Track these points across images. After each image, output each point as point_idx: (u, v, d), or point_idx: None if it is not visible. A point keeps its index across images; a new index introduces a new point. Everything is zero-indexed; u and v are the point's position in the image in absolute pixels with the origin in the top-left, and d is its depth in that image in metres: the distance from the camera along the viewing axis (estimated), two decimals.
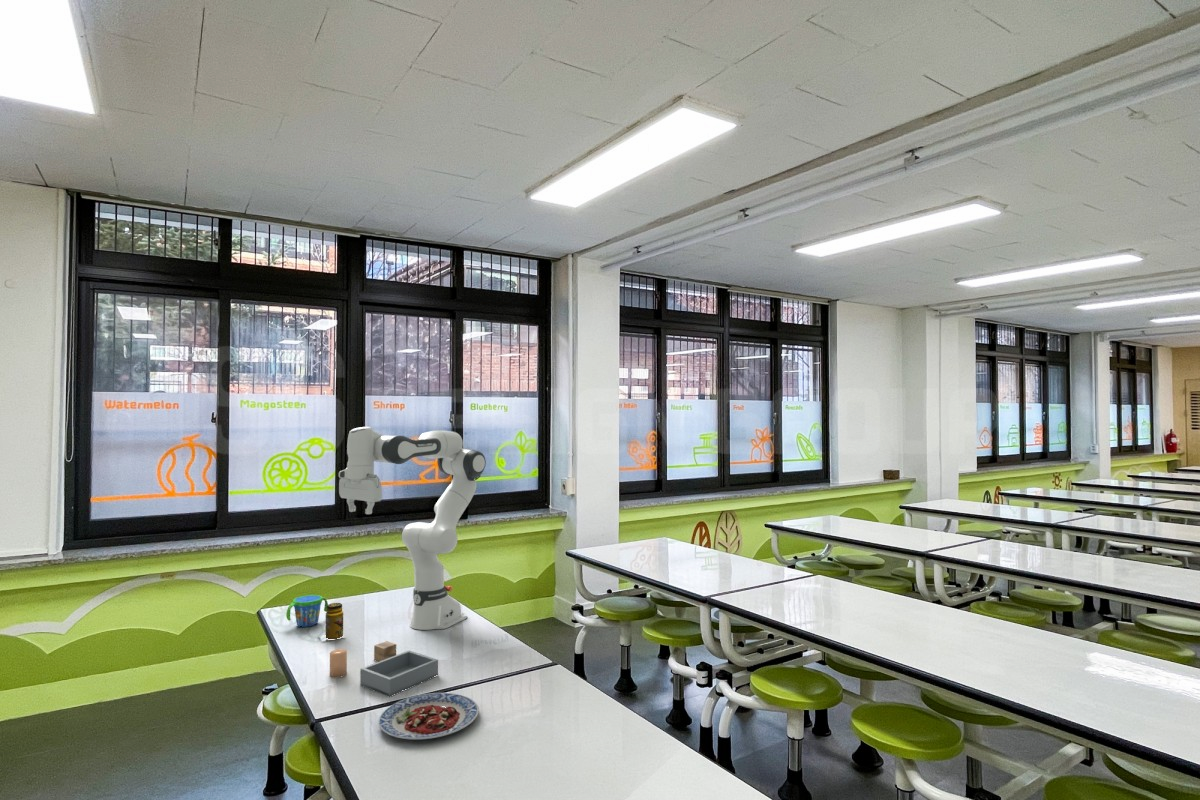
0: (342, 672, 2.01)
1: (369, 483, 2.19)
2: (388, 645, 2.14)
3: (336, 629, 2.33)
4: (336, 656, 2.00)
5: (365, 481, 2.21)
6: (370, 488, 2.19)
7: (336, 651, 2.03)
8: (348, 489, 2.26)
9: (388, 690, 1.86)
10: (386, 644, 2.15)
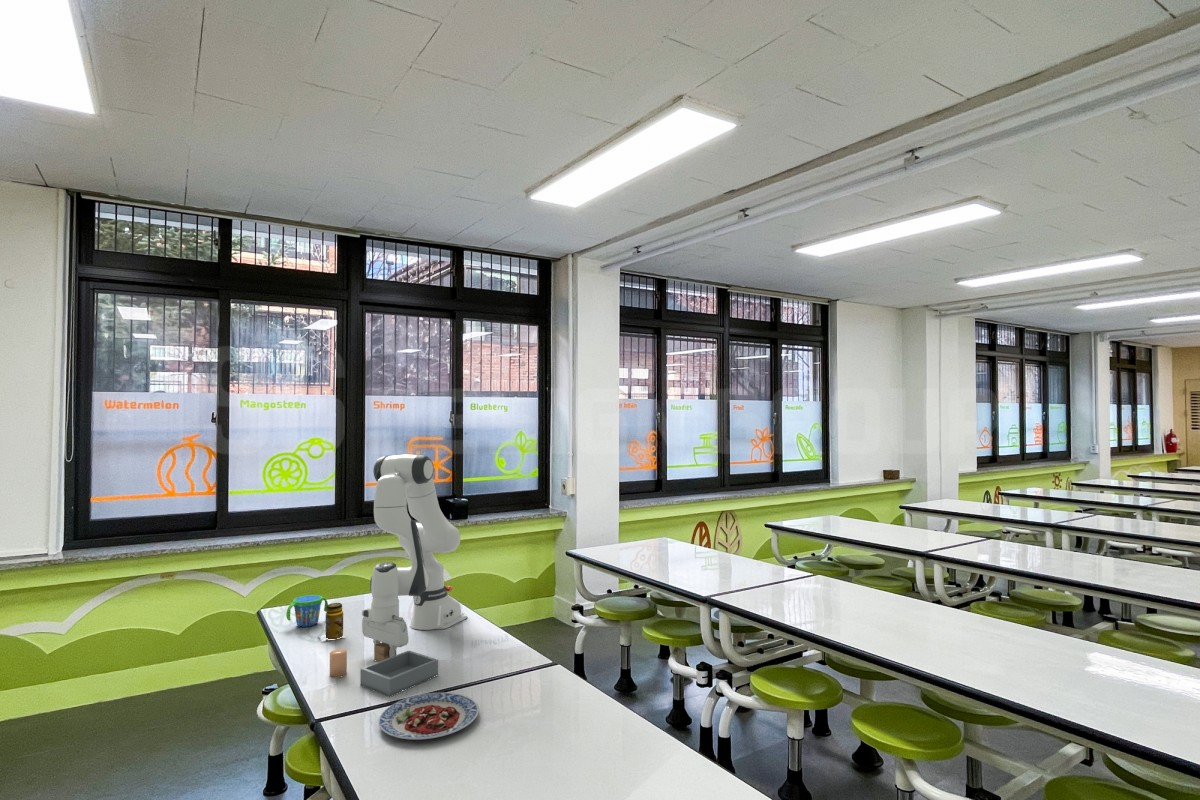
0: (342, 672, 2.01)
1: (395, 627, 2.08)
2: (388, 645, 2.14)
3: (336, 629, 2.33)
4: (336, 656, 2.00)
5: (390, 624, 2.10)
6: (396, 632, 2.08)
7: (336, 651, 2.03)
8: (372, 629, 2.15)
9: (388, 690, 1.86)
10: (386, 644, 2.15)
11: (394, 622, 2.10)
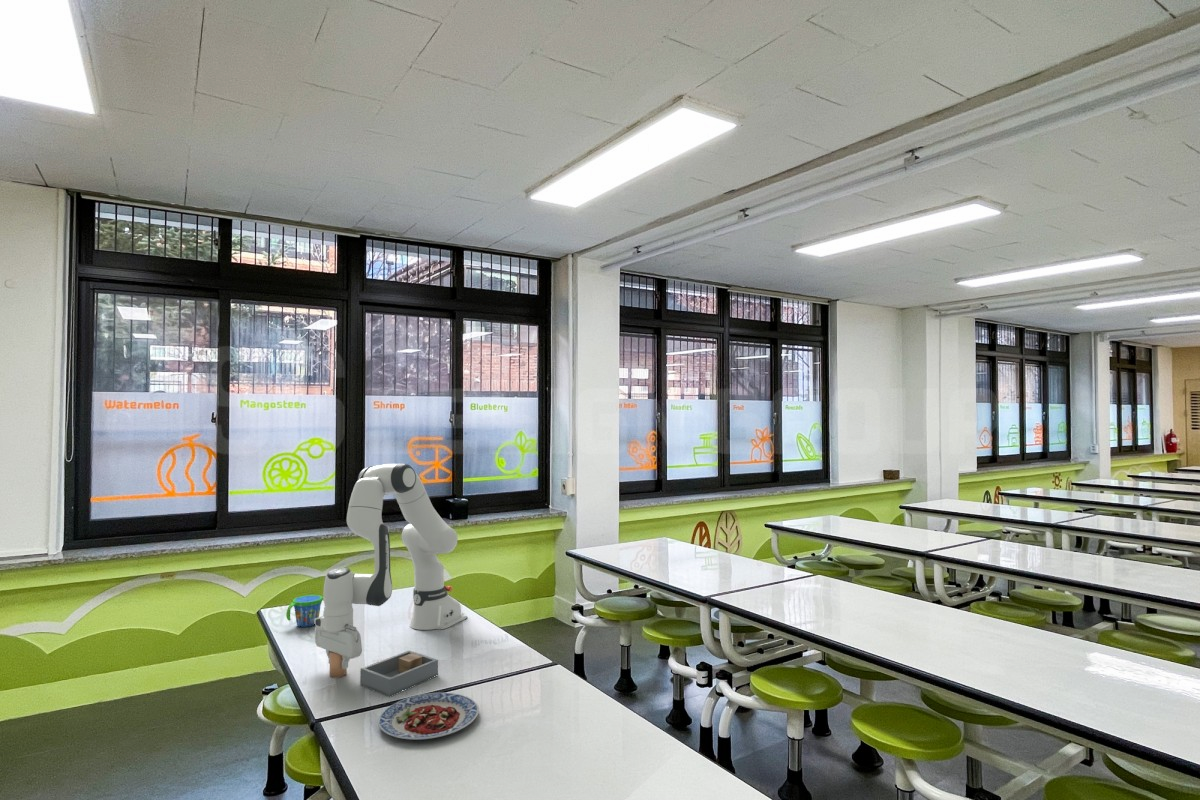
0: (342, 672, 2.01)
1: (347, 637, 1.97)
2: (413, 658, 2.00)
3: None
4: (336, 656, 2.00)
5: (343, 634, 1.98)
6: (348, 642, 1.96)
7: None
8: (325, 639, 2.03)
9: (388, 690, 1.86)
10: (411, 657, 2.01)
11: (347, 632, 1.98)
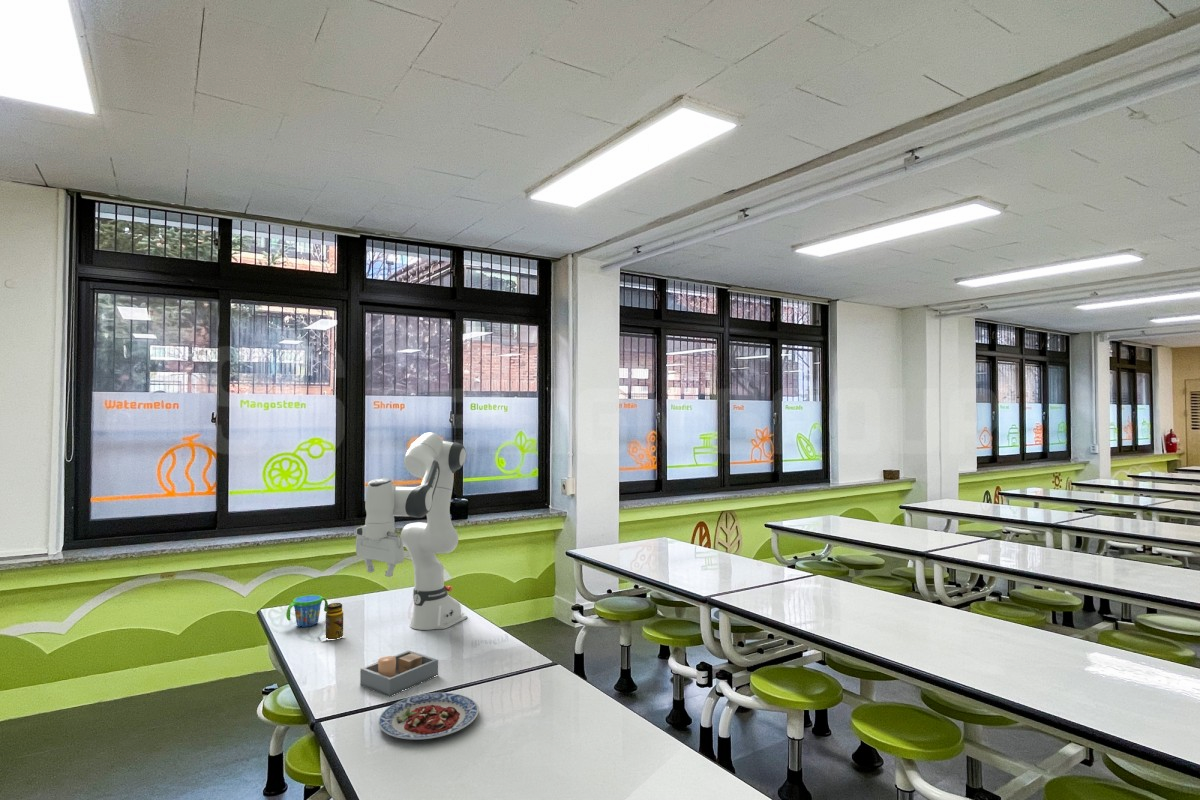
0: None
1: (390, 543, 1.98)
2: (413, 658, 2.00)
3: (336, 629, 2.33)
4: (386, 664, 1.91)
5: (385, 540, 1.99)
6: (391, 548, 1.98)
7: (385, 658, 1.94)
8: (366, 548, 2.05)
9: (388, 690, 1.86)
10: (411, 657, 2.01)
11: (389, 538, 1.99)
